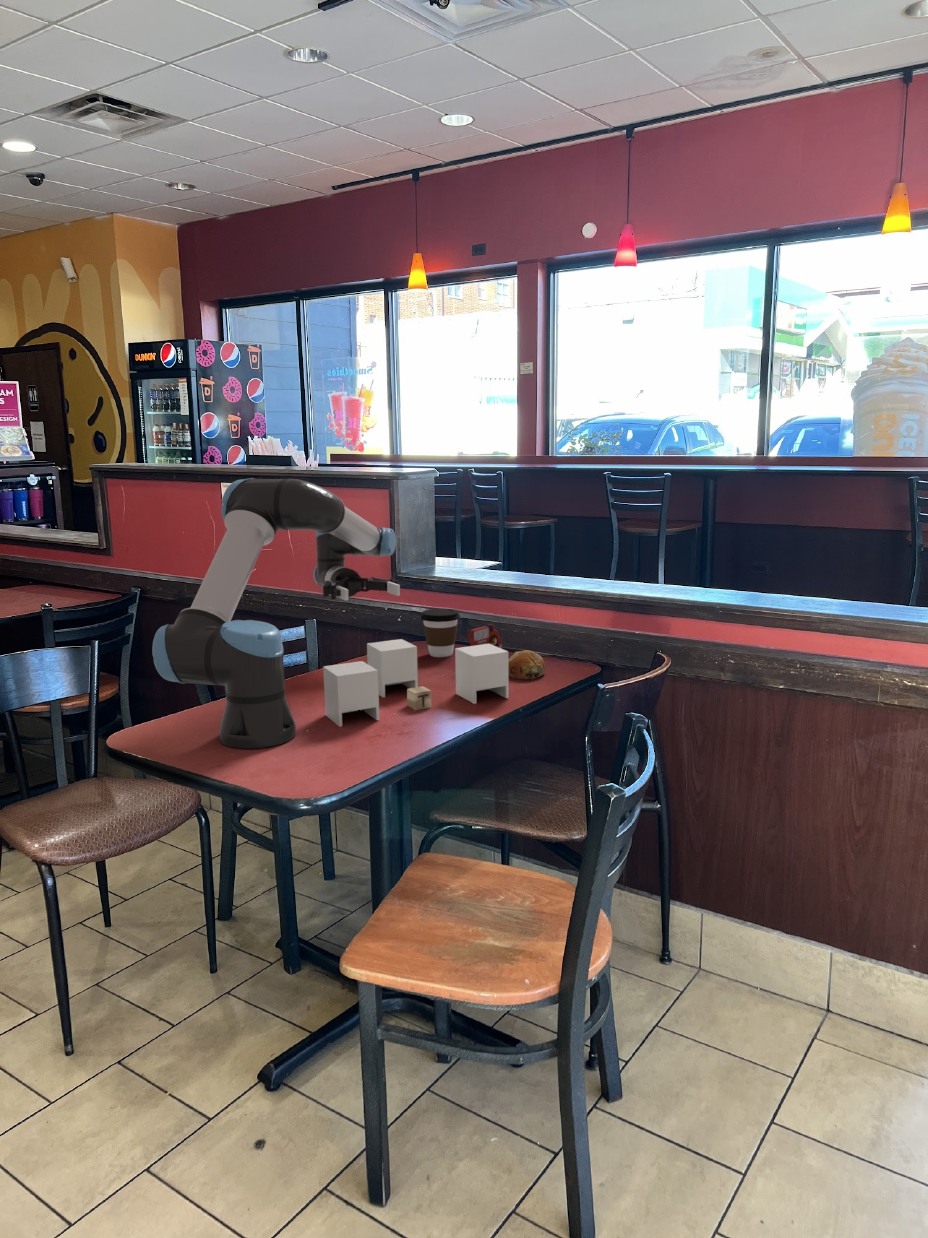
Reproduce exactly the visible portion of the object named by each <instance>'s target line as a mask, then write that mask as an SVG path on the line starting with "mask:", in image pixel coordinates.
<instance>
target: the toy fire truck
mask: <svg viewBox="0 0 928 1238" xmlns="http://www.w3.org/2000/svg"><path fill="white" fill-rule="evenodd" d="M468 640H469V646H476V645H483V644H491V645H494V646H496V647H498V648H501V649H503V648H502V647H503V646H502V645H503V642H502V640H501V637H500V633H499V631H498V630H497V629H495V625H494V624H493V623H489V624H487V626H485V625H484V626H480V627H476V628H473V629H470V630H469V632H468ZM503 650H505V649H503Z"/></svg>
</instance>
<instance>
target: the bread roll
mask: <svg viewBox="0 0 928 1238" xmlns="http://www.w3.org/2000/svg"><path fill="white" fill-rule="evenodd" d="M545 673H546V664H545V661H544V658H543V657H542V656H541V655H540V654H538V653H537V652H535V651H532V650H527V649H525V650H521V651H514V653H513V654H512V655H511V656H510V657H508V677H509V676H510V677H509V678H511V677H512V678H511V679H515V678H517V679H516V680H534V678H535V679H539V678H541V677H542V676H543V675H544V674H545ZM540 676H541V677H540ZM538 677H539V678H538Z"/></svg>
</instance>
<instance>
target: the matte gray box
mask: <svg viewBox="0 0 928 1238" xmlns="http://www.w3.org/2000/svg"><path fill="white" fill-rule="evenodd" d="M454 650H455V651H454V652H455V653H454V654H455V657H454V658H455V661H454V662H455V694H456V695H457V696H459V697H462V699H465V700H467V701H469V702H470V703H472V704H474V705H476V704H477V692H481V691H487V690H490V691H491V692H493V693H495V694H497V695H499V696H501V697H503V698H505V699H510V698H509V695H510V694H509V690H510V689H509V684H510V683H509V676H508V659H509V651H508V650H506V649H504V650H503V648H502V649H501V648H498V647H496V646H494V645H491V644H483V645H476V646H470V645H469V646H463V647H455V648H454Z"/></svg>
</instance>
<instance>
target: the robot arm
mask: <svg viewBox="0 0 928 1238" xmlns="http://www.w3.org/2000/svg"><path fill="white" fill-rule="evenodd" d="M221 498H222V500H221V503H222V505H221V507H220V508H221V509H220V510H221V516H222V520H223V522H224V526H225V529H226V531H225V533H224V535H223V538H222V539H221V542H220V544H219V546H218V549H217V550H216V552H215V554H214V556H213V558H212V561H211V563H210V565H209V567H208V570H207V571H206V573H205V576H204V579H202V582H201V584H200V587H199V588H198V590H197V593H196V595H195V597H194V599H193V601H192V603H191V606H190V607H188V608H187V607H186V608H184V609H182V610H181V611H180V612H179V613H178V615H177V618H176V620H175V621H174V623H173V624H169V623H167V624H164V625H162V626H160V627H159V628H158V629H157V630H156V632H155V634H154V637H153V640H152V658H153V664H154V666H155V667H154V668H155V669H156V671H157V673H158V674H159V675H160V677H162V678H163V679H164V680H166V681H168V682H172V683H173V682H174V683H179V684H184V685H185V684H194V685H195V684H196V685H207V686H208V685H211V686H223V687H224V690H225V705H224V710H223V714H222V718H221V721H220V724H219V741H220V743H221V744H223V745H224V746H227V747H230V748H235V749H247V750H249V749H250V750H252V749H265V748H269V747H274V746H278V745H282V744H284V743H287V742H289V741H291V740H292V739H294V737H295V736H296V734H297V725H296V720H295V718H294V716H293V713H292V710H291V709H290V706H289V703H288V701H287V699H286V687H285V685H286V684H285V663H284V651H285V650H284V645H283V640H282V633H281V630H279V628H277V627H276V626H275V625H273V624H271V623H269V622H265V621H260V620H253V619H246V620H243V619H242V620H241V619H234V620H232V619H233V616H234V613H235V611H236V609H237V607H238V604H239V602H240V600H241V597H242V595H243V592H244V591H245V589H246V586H247V584H248V581H249V579H250V577H251V574H252V572H253V570H254V567H255V565H256V562H257V560H258V559H259V556H260V554H261V551H262V549H263V547H264V546H267V545H269V544H270V543H272V542H273V540H274V539H275V536H276V534H277V532H279V531H315V542H316V544H315V545H316V566H315V567H314V568H313V573H312V576H313V577H312V578H313V580H314V582H315V584H316V585H318V586H319V587H320V588H321V589H322V597H324V598H327V597H329V596H330V600H336V599H337V598H338V599H340V600H343V601H345V602H346V601H349V598H350V597H351V598H352V597H353V596H356V594H358V593H360V592H361V593H362V592H364V593H367V592H370V591H379V592H381V591H382V592H387V593H388V594H391V595H393V596H396V597H399V596H401V585H400V584H399V580H396V579H394V578H393V577H392V578H390V579H385V578H377V577H374V576H372V577H370V578H369V577H362V576H361V575H360V574H359V573H358V571H356V570H354V569H352V568H348V567H346V565H345V556H369V557H370V556H371V557H372V556H373V557H374V556H376V557H383V556H384V557H385V556H386V557H387V556H392V555H393V554H394V553H395V550H396V546H397V537H396V534H395V531H394V529H393V528H390V527H388V528H387V527H384V526H383V527H377V526H375V525H374V524H372V523H370V522H369V521H367V520H366V519H365V518H363V517H361V516H360V515H358V514H357V513H355V511H352V510H351V509H350V508H348V507H347V506H345V503H344V501H343V500H342V499H341V498H340V497H339V496H338V495H337V494H334V493H333V492H331V491H330V490H329V489H326V488H324V487H322V486H319V485H317V484H315V483H312V482H309V481H306V480H302V479H299V478H298V479H297V478H285V479H284V478H283V479H281V478H253V477H251V478H245V479H243V478H242V479H237V480H235V481H233V482H231V484H229V485H228V487H227V488H226V489H225V491H224V492H223V495H222V497H221Z"/></svg>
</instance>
